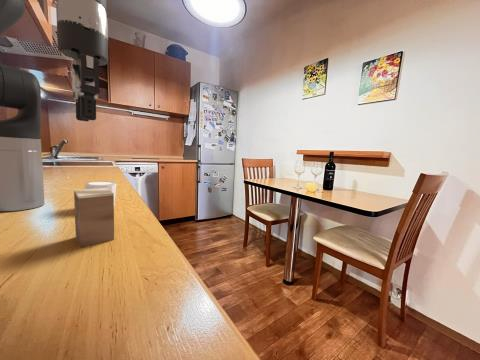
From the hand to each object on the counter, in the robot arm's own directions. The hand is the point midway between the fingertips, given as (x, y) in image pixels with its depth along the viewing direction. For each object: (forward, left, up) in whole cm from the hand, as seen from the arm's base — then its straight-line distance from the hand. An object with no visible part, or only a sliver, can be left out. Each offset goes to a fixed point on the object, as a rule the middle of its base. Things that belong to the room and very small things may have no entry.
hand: (85, 120), depth 40 cm
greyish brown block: (+7, -3, -22) cm, 23 cm away
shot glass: (-9, +9, -22) cm, 25 cm away
